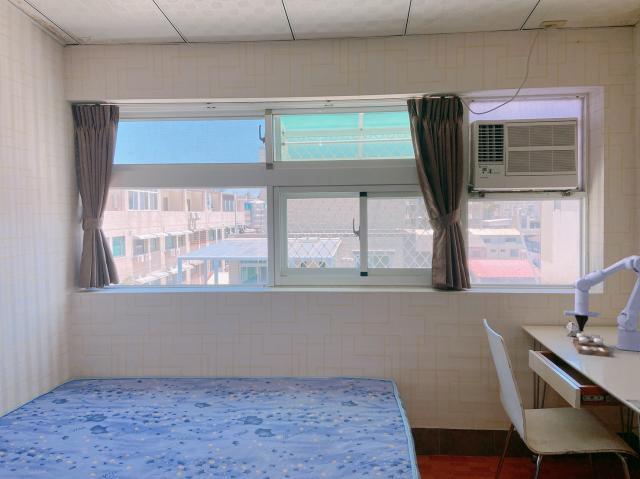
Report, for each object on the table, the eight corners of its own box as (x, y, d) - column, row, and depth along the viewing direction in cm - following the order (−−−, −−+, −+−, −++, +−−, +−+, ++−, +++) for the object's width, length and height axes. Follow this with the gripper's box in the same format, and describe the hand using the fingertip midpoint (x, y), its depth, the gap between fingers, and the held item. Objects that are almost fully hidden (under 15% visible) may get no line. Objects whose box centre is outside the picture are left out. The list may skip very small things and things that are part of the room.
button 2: (598, 338, 211) (598, 334, 211) (600, 340, 208) (600, 336, 208) (590, 337, 213) (590, 334, 213) (591, 339, 210) (591, 335, 209)
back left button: (584, 337, 214) (584, 333, 214) (585, 339, 210) (585, 335, 210) (576, 336, 215) (576, 332, 215) (577, 338, 212) (577, 334, 212)
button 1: (587, 340, 207) (587, 337, 207) (588, 343, 204) (588, 339, 204) (578, 340, 209) (578, 336, 209) (579, 342, 205) (579, 338, 205)
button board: (601, 345, 212) (601, 340, 212) (609, 356, 195) (610, 351, 195) (572, 342, 217) (572, 337, 217) (578, 353, 199) (578, 348, 199)
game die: (574, 344, 226) (571, 331, 221) (562, 334, 233) (558, 322, 229) (589, 335, 226) (586, 322, 221) (576, 326, 234) (573, 313, 229)
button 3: (601, 342, 205) (601, 338, 205) (603, 344, 202) (603, 340, 202) (592, 341, 206) (593, 337, 206) (594, 343, 203) (594, 339, 203)
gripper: (565, 303, 211) (565, 331, 212) (600, 305, 205) (600, 334, 206) (563, 300, 218) (563, 327, 218) (597, 302, 212) (597, 330, 213)
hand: (580, 330), depth 213 cm, fingers closed
